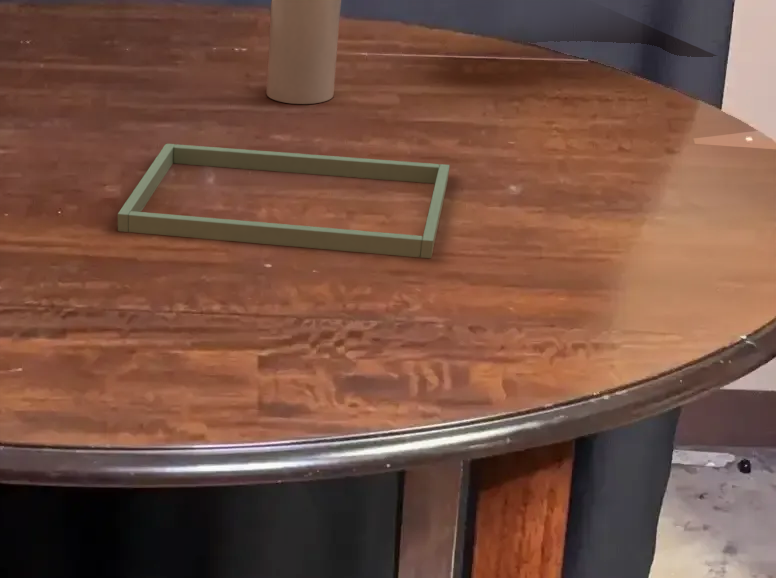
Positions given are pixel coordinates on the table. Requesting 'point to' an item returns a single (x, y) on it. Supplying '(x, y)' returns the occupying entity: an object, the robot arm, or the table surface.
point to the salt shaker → (303, 50)
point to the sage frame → (285, 233)
